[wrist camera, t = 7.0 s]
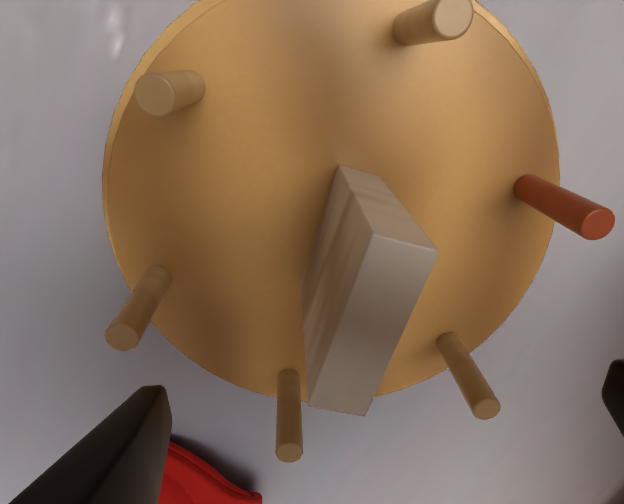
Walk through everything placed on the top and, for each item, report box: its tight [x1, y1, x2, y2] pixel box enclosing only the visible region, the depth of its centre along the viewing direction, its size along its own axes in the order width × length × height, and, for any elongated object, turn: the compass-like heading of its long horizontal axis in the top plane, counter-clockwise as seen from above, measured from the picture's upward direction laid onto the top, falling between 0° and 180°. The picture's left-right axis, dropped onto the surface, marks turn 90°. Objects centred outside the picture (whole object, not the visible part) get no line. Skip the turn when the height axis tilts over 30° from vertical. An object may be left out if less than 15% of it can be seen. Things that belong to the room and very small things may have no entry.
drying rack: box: [105, 0, 615, 462], centre depth 13 cm, size 17×17×7 cm
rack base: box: [102, 0, 559, 290], centre depth 18 cm, size 18×18×2 cm
